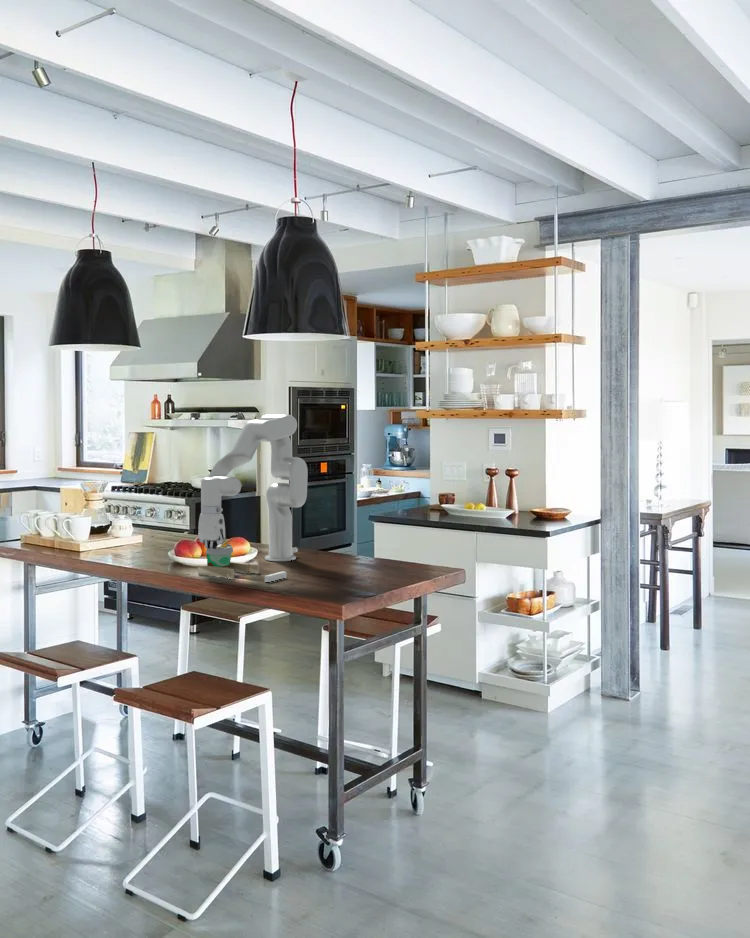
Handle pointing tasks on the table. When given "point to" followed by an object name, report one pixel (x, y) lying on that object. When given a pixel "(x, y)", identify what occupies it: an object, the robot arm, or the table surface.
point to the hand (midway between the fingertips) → (211, 558)
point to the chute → (228, 569)
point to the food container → (219, 556)
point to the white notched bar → (275, 576)
